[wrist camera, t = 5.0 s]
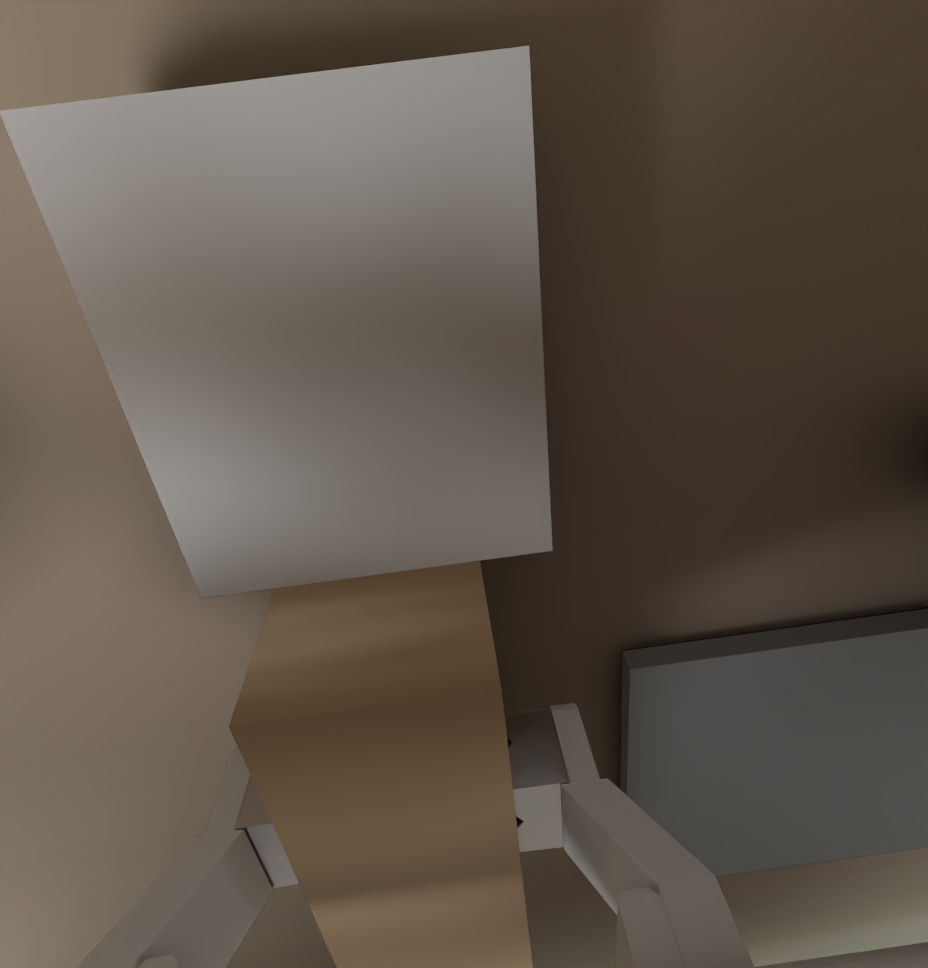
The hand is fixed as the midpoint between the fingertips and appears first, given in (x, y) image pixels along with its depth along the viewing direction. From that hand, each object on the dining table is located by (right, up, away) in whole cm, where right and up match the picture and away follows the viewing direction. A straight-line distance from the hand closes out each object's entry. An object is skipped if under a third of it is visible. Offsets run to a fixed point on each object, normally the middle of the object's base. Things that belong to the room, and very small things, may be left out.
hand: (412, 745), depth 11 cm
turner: (0, +2, +1) cm, 2 cm away
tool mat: (+16, -2, +6) cm, 17 cm away
